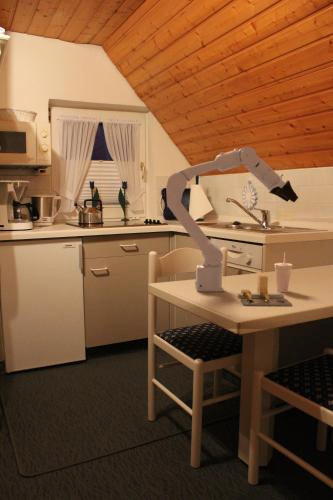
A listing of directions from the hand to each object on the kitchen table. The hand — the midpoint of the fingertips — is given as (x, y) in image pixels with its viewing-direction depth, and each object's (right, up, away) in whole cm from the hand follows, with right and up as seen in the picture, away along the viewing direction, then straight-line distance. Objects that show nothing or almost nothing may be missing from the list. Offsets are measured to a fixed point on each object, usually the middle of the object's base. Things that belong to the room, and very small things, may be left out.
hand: (292, 199), depth 147 cm
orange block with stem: (-12, -33, -10) cm, 37 cm away
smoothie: (-3, -32, +3) cm, 33 cm away
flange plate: (-13, -35, -14) cm, 39 cm away
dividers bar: (-13, -34, -10) cm, 38 cm away
